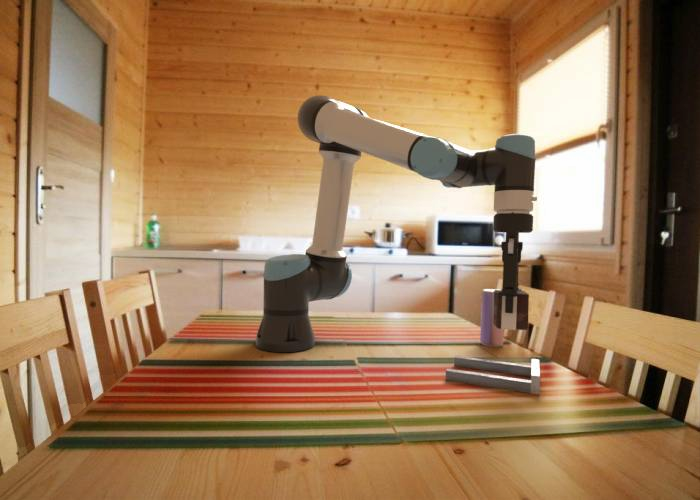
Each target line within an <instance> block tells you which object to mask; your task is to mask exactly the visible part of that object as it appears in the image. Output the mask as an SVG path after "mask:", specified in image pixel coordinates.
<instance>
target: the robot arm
mask: <svg viewBox="0 0 700 500" xmlns="http://www.w3.org/2000/svg"><path fill="white" fill-rule="evenodd" d="M297 124H298V127H299V130H300V131H301V133H302V134H303V136H305V138H307V139H308V140H310V141H312V142H315V143H317V144H319V148H318V154H319V155H320V156H321V158H322V167H321V174H320V175H321V176H320V181H319V190H318V197H317V198H318V199H317V206H316V214H315V220H314V228H313V236H312V237H313V238H312V243H311V245H310V246H309V247H308V248H307V249H306V250H305V254H304V253H303V254H300V253H299V254H297V253H295V254H293V253H292V254H282V255H276V256H272V257H269V258H268V259H267V260H266V261H265V263H264V269H263V270H264V271H263V275H262V277H263V310H262V311H263V313H262V319H261V322H260V324H259V326H258V330H257V334H256V336H255V337H256V338H255V347H256V348H258V349H259V350H262V351H267V352H273V353H292V352H293V353H295V352H302V351H306V350H308V349H312V348H313V347H314V346H315V343H316V342H315V341H316V340H315V337H316V336H315V334H314V329H313V326H312V323H311V320H310V317H309V307H310V306H309V305H310V304H309V303H311V302H316V301H323V300H324V301H325V300H327V301H328V300H333V299H335V298H338V297H341V296H343V295H344V294H345V293H346V292H347V291H348V289H349V288H350V286H351V283H352V278H353V272H352V268H350V267H351V266H350V264H349V262H348V261H347V258H348V257H347V256H348V255H347V253H346V252H345V251H344V248H343V247H344V240H345V239H344V238H345V232H346V225H347V217H348V212H349V211H348V210H349V203H350V196H351V190H352V189H351V188H352V183H353V182H352V181H353V175H354V167H355V164H356V163H357V162H358V161H360V160H361V157H362V153H364V154H366V155H369V156H371V157H375V158H377V159H380V160H382V161H385V162H388V163H390V164H394V165H395V166H399V167H401V168H404V169H406V170H409V171H412V172H414V173H416V174H418V175H419V176H422V177H423V178H425V179H428V180H432V181H433V180H434V181H435V180H436V181H440V183H441V184H442V186H443V187H445V188H457V189H462V188H468V187H469V188H471V187H481V186H482V187H483V186H494V192H493V211H494V212H496V214H494V215H493V226H492V228H493V229H492V230H493V232H495V233H505V241H501V245H500V247H501V251H502V253H501V260H502V264H503V265H502V269H503V270H502V289H501V290H502V292H499V296H502V319H501V329H504V330H511V331H516V314H517V296H516V295H517V290H521V291H522V287H519V286H520V284H519V267H520V266H519V264H520V263H521V262H522V251H523V246H524V245H523V244H524V243H523V241H519V239H520V235H519V234H520V233H521V234H522V233H523V234H530V233H532V232H533V231H534V229H533V228H534V215H532V214H531V212H533V210H534V202H536V201H538V197H537V196H535V193H534V192H535V176H536V175H535V173H536V160H537V158H536V141H535V138H534V137H532V136H531V135H529V134H522V133H512V134H505V135H503V136H499V137H498V138H497V139H496V141H495V145H494V147H493V148H489V149H482V150H469V149H466V148H464V147H462V146H460V145H459V146H458V145H457V144H454V143H451V142H450V141H448V140H446V139H443V138H440V137H435V136H431V135H426V134H424V133H421V132H417V131H415V130H410V129H408V128H405V127H401V126H398V125H395V124H391V123H389V122H385V121H381V120H379V119H375V118H372V117H370V116H368V115H367V113H366V112H365V111H363V110H361V109H359V108H358V107H357V106H354V105H350V104H348V103H345V102H342V101H340V100H337V99H334V98H332V97H330V96H327V95H322V94H321V95H320V94H319V95H318V94H317V95H313V96H310V97H308V98H307V99H305V101H304V102H303V103H302V104H300V107H299V109H298V111H297Z"/></svg>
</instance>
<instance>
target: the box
mask: <svg viewBox="0 0 700 500" xmlns="http://www.w3.org/2000/svg"><path fill="white" fill-rule="evenodd" d="M499 292H502V289H499V290H494V318H493V323H494V324H495V326H496V327H497V328H498V329H501V319H502V296H499ZM516 296H517V314H516V330H517V331H518V330H519V331H528V330H529V302H530V301H529V300H530V299H529V298H530V293H527V292H526V291H525V290H522V289H521V290H517V295H516ZM516 330H515V331H516Z"/></svg>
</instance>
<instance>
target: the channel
mask: <svg viewBox="0 0 700 500" xmlns="http://www.w3.org/2000/svg"><path fill="white" fill-rule="evenodd" d="M453 358H454V360H453V361H454V363H453V364H454V365H453V366H454V367H459V368H467V369H474V370H480V371H485V372H486V371H487V372H492V373H494V372H495V373H500V374H501V373H502V374H508V375H516V376H523V377H529V378H530V379H529V380H528V379H523V378H516V377H509V376H501V375H496V374H488V373H481V372H476V371H467V370H461V369H455V368H454V369H453V368H446V370H445V381H448V382H456V383H462V384H469V385H474V386H479V387H480V386H481V387H488V388H494V389H500V390H506V391H507V390H508V391H513V392H519V393H520V392H521V393H525V394H531V395H532V394H533V395H540V387H541V369H540V359H536V358H531V359H530V360H531V363H530V365H529V364H523V363H522V364H521V363H515V362H507V361H498V360H493V359H483V358H476V357H469V356H461V355H455V356H454V357H453Z"/></svg>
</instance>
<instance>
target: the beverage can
mask: <svg viewBox="0 0 700 500" xmlns="http://www.w3.org/2000/svg"><path fill="white" fill-rule="evenodd" d="M494 290H500V288H499V289H497V288H484V289H482V293H481V309H480V337H479V341H480V344H481V345H482V346H485V347H491V348H499V347H503V344H504V330H505V329H498V328H497V327H496V326H495V324H494V323H493V318H494Z"/></svg>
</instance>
